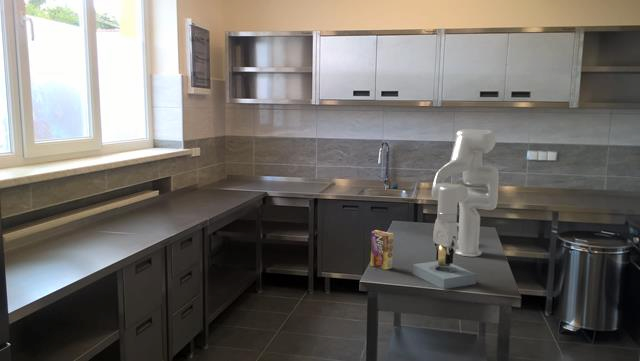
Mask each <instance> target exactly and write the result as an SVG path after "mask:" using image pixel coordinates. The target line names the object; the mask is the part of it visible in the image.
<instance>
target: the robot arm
mask: <svg viewBox="0 0 640 361" xmlns="http://www.w3.org/2000/svg"><path fill="white" fill-rule="evenodd" d="M496 143H497V135H496V132H495V131H494V130H492V129H478V128H476V129H475V128H462V129H458V130H457V131H456V133H455V141H454V143H453V144H454V145H453V148H452V152H451V157H450V160H449V162H446V163H445V164H444V165H443V166H442V167H441V168H440V169H439V170H438V171H437V172H436V174H435V176H434V179H433V183H432V186H431V187H432V188H431V197H432V199H434V200H435V201H437V213H436V214H437V216H436V219H435V222H434V225H433V226H434V227H433V232H432V233H433V236H432V241H433V243H434V246H435V250H436V258H435V259H436V261H438V251H439V245H441V246H444V247H446V249H447V254H446V260H445V263H446V264H454V263H453V262H454V261H453V260H454V254H456V255H458V256H463V257H470V258H471V257H472V258H473V257H479V256H482V251H481V250H479V243H480V227H481V226H480V225H481V216H480V214H479V212H478V211H477V209H479V210H480V209H482V210H488V211H491V210H492V211H493V210H495V209H496V208H497V206H498V201H499V198H498V197H499V178H500V177H499V170H498V168H497V167H496V166H494V165H493V166H492V165H483V154H488V153H490V152H491V151H492V150H493V149H494V147H495V145H496ZM461 173H462V182H463V183H464V184H465V185H463V184H461V183H454V182H453V183H450V182H444V181H445V180H446V179H447V178H448V177H452V176H453V175H457V174H461ZM466 185H469V187H467V186H466ZM470 185H471V186H479V187H471V186H470ZM481 187H482V188H481ZM483 187H486V188H483ZM458 205H459V215H458ZM458 216H459V218H458ZM457 219H459V220H458V222H457ZM457 223H459V231H458V230H457ZM457 239H458V241H457ZM449 248H451V250H450V249H449Z"/></svg>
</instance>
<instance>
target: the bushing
mask: <svg viewBox="0 0 640 361" xmlns="http://www.w3.org/2000/svg"><path fill="white" fill-rule="evenodd" d="M449 249H450V250H451V248H449ZM446 254H447V249H446V247H444V246H441V245H439V251H438V260H437V261H438V265H440V266H450V265H451V264H446V263H445V260H446Z"/></svg>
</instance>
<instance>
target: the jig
mask: <svg viewBox="0 0 640 361" xmlns="http://www.w3.org/2000/svg"><path fill="white" fill-rule="evenodd" d="M477 274H478V273H475V272H472V270H471V271H470V270H469V269H465V268H464V267H462V266H459V265H456V264H454V263H452V264H451V265H450V266H440V265H438V260H436V261H428V262H421V263H413V264H412V275H414V276H416V277H419V278H421V279H422V280H424V281H427V282H428V283H430V284H432V285H434V286H436V287H438V288H440V289H443V290H446V289H453V288H458V287H466V286H471V285H476V284H477V278H478V276H477Z"/></svg>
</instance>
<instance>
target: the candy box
mask: <svg viewBox="0 0 640 361" xmlns="http://www.w3.org/2000/svg"><path fill="white" fill-rule="evenodd" d="M394 236H395V235H394V233H393V232H387V231H382V230H380V229H379V230H378V229H375V230H372V231H371V247H370V248H371V249H370V266H371V267H375V268H379V269H383V270H391V269H393V253H394Z"/></svg>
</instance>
